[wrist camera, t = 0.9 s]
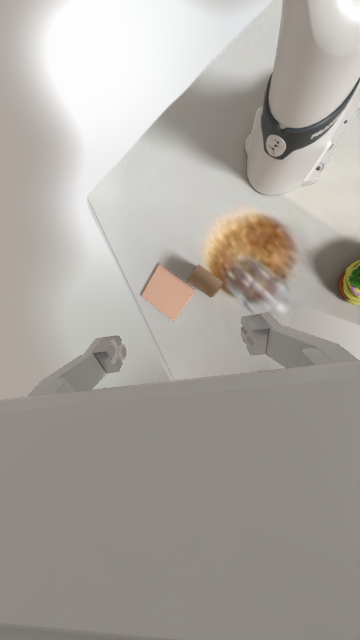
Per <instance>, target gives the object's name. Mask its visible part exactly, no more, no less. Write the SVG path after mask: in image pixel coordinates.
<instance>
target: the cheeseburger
mask: <svg viewBox="0 0 360 640" xmlns="http://www.w3.org/2000/svg"><path fill="white" fill-rule="evenodd" d="M339 288H340V292H341V294H342V295H343V296H344V297H345V298H346V300H347V301H348V302H349V303H351V304H355V305H360V260H358V261H355V262H353V263H352V264H351V265H350V266H349V267H348V268H346V270H345V272H344V273H343V274H342V276H341V277H340V281H339Z"/></svg>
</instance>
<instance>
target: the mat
mask: <svg viewBox="0 0 360 640" xmlns="http://www.w3.org/2000/svg"><path fill="white" fill-rule="evenodd" d="M195 291H196V290H195V289H193V288H192V287H190V286H189V285H188V284H186V283H185V282H184V281H182V280H181V279H180V278H178V277H177V276H175V275H174V274H173V273H171V272H170V271H169V270H167V269H166V268H164V267H163V266H162V265H160V264H159V265H158V267H157V269H156V271H155V272H154V274H153V276H152V278H151V280H150V281H149V283H148V285H147V287H146V289H145V290H144V292H143V294H142V297H143V298H144V299H146V300H147V301H148V302H150V303H151V304H152V305H153V306H155V307H156V308H157V309H159V310H160V311H161V312H162V313H164V314H165V315H166V316H167V317H169V318H170V319H171V320H173V321H175V320H176V318H177V317H178V315H179V314H180V313H181V311H182V310H183V308H184V307H185V305H186V304H187V302H188V301H189V299H190V298H191V297H192V295H193V294H194V292H195Z"/></svg>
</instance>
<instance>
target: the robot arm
mask: <svg viewBox="0 0 360 640" xmlns="http://www.w3.org/2000/svg"><path fill="white" fill-rule="evenodd" d="M359 108H360V0H283V4H282V15H281V23H280V30H279V37H278V44H277V50H276V56H275V62H274V68H273V72H272V74H271V76H270V79H269V82H268V86H267V89H266V92H265V96H264V100H263V104H262V105H261V107H259V108H258V110H257V112H256V116H255V120H254V125H253V129H252V131H251V133H250V134H249V135H248V136H247V138H246V140H245V151H246V154H247V177H248V180H249V182H250V184H251V186H252V187H253V188H254V189H255V190H256V191H258V192H260V193H262V194H265V195H279V194H283V193H286V192H288V191H290V190H292V189H294V188H296V187H298V186H301V185H308V184H312V183H315V182H316V181H317V180H318V179H319V178H320V176H321V174H322V173H323V171H324V169H325V167H326V166H327V164H328V162H329V160H330V159H331V157H332V155H333V153H334V152H335V150H336V148H337V146H338V145H339V143H340V141H341V139H342V137H343V136H344V134H345V132H346V130H347V129H348V127H349V125H350V123H351V122H352V120H353V118H354V116H355V115H356V113H357V111H358V109H359ZM316 168H318V169H319V170H318V171H317V170H316ZM241 323H242V325H243V326H242V328H241V336H242V339H243V341H244V343H246V344H247V349H248V351H249V353H250V355H260V354H266V355H267V356H269V357H270V358H272V359H273V360H275V361H276V362H278V363H279V364H281V365H283V366H284V367H285V369H276V370H267V371H258V372H249V373H240V374H231V375H222V376H213V377H203V378H194V379H185V380H176V381H167V382H158V383H149V384H140V385H131V386H122V387H113V388H104V389H95V390H92V388H94V387H95V385H97V384H98V383H99V381H100V380H101V379H102V378H103V377H104V376H105V375H106V374H107V373H113V372H119V370H120V368H121V366H122V362H121V361H122V360H123V359H125V356H126V348H125V346H124V345H123V344H122V343H121V338H120V336H110V337H102V338H97V339H95V340H94V342H93V343H92V344H91V346H90V347H89V348H88V349H87V351H86V352H85V353H84V354H83V355H80V356H79V357H77V358H76V359H74V360H73V361H71V362H69V363H68V364H66V365H65V366H63V367H62V368H60V369H59V370H57V371H56V372H54V373H53V374H51V375H49V376H48V377H46V378H45V379H43V380H42V381H41V382H40V383H39V384H38V385H37V386H36V387H35V389H34V390H33V391H32V392H31V393H30V394H29V395H28V396H27V397H22V398H13V399H4V400H0V640H360V360H358V359H357V358H356V357H354V356H353V355H352V354H350V353H349V352H348V351H347V350H345V349H344V348H342V347H341V346H340V345H339V344H336V343H333V342H331V341H328V340H325V339H322V338H319V337H316V336H313V335H310V334H307V333H304V332H301V331H298V330H295V329H292V328H289V327H286V326H284V327H283V326H282V325H281V324H280V323H279V322H278V321H277V320H276V319H275V318H274V317H273V316H272V315H271V314H270V313H268V312H266V313H261V314H256V315H250V316H244V317H242V318H241Z"/></svg>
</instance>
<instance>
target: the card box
mask: <svg viewBox="0 0 360 640" xmlns="http://www.w3.org/2000/svg"><path fill="white" fill-rule="evenodd" d="M188 281H189V282H190V283H191V284H193V285H194V286H195V287H197V288H198V289H200V290H201V291H202V292H204V293H205V294H206V295H208V296H209V297H213V296H215V294H216V293H217V292H218V290H219V289H220V288H221V286H222V285H223V284H224V283H223V281H221V280H220V279H218V278H217V277H215V276H214V275H213V274H211V273H210V272H208V271H207V270H205V269H204V268H203V267H201V266H200V265H198V266H197V267H196V269H195V270H194V272H193V273H192V275H191V276H190V278H189V279H188Z"/></svg>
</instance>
